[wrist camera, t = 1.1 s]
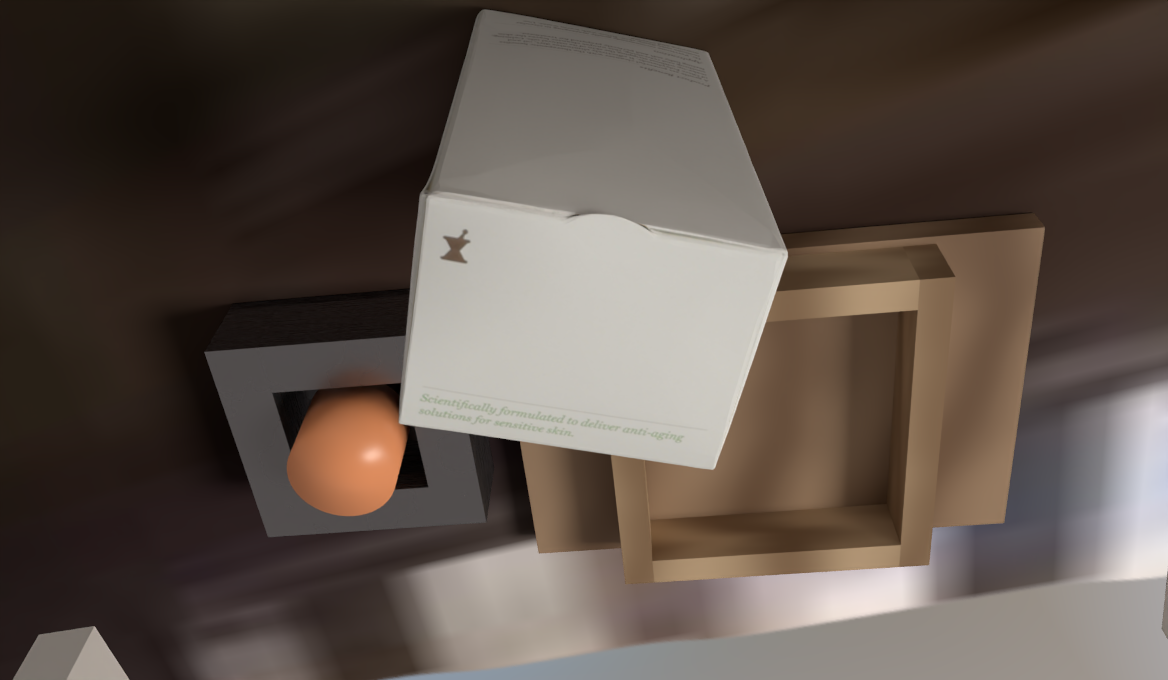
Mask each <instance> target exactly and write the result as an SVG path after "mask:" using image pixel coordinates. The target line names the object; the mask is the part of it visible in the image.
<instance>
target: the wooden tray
mask: <svg viewBox="0 0 1168 680" xmlns="http://www.w3.org/2000/svg"><path fill="white" fill-rule="evenodd" d="M1044 231H1045V227H1044V225H1043V224H1042V223H1041V222H1040V220H1039V219H1038V218H1037V217H1036V215H1035V214H1034V213H1027V214H1015V215H1003V216H991V217H979V218H968V219H956V220H944V221H932V222H920V223H909V224H897V225H885V226H873V227H861V228H850V229H838V230H826V231H814V232H803V233H791V234H780V235H781V237H782V240H783V242H784V244H785V247H786V249H787V251H788V258H787V261H786V264H785V266H784V269H783V272H782V275H781V278H780V281H779V284H778V287H777V290H776V293H775V296H774V299H773V302H772V305H771V308H770V311H769V314H768V317H767V320H766V323H765V326H764V329H763V332H762V335H761V338H760V341H759V344H758V347H757V350H756V353H755V356H754V359H753V362H752V365H751V367H750V370H749V373H748V376H747V379H746V382H745V385H744V388H743V391H742V393H741V396H740V399H739V402H738V405H737V408H736V411H735V414H734V417H733V420H732V422H731V425H730V428H729V431H728V434H727V436H726V439H725V442H724V444H723V447H722V450H721V453H720V455H719V458H718V461H717V464H716V467H715V468H714V469H713V470H710V469H701V468H694V467H688V466H682V465H675V464H669V463H662V462H655V461H649V460H642V459H636V458H629V457H622V456H616V455H609V454H603V453H596V452H589V451H582V450H576V449H569V448H562V447H556V446H549V445H543V444H536V443H529V442H523V441H520V445H521V451H522V457H523V463H524V468H525V474H526V480H527V486H528V492H529V498H530V504H531V510H532V516H533V522H534V528H535V534H536V540H537V545H538V551H539V553H553V552H568V551H583V550H598V549H614V548H622V557H623V566H624V575H625V584H637V583H653V582H669V581H684V580H700V579H716V578H732V577H748V576H763V575H779V574H795V573H811V572H827V571H842V570H858V569H874V568H890V567H906V566H921V565H929V560H930V549H931V539H932V528H933V527H949V526H964V525H979V524H994V523H1004V519H1005V512H1006V505H1007V497H1008V490H1009V483H1010V476H1011V469H1012V462H1013V454H1014V447H1015V440H1016V433H1017V426H1018V418H1019V411H1020V404H1021V397H1022V390H1023V382H1024V375H1025V368H1026V361H1027V354H1028V346H1029V339H1030V332H1031V325H1032V318H1033V310H1034V303H1035V296H1036V289H1037V282H1038V274H1039V267H1040V260H1041V253H1042V246H1043V239H1044Z"/></svg>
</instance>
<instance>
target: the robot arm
mask: <svg viewBox="0 0 1168 680" xmlns="http://www.w3.org/2000/svg"><path fill="white" fill-rule="evenodd" d="M1162 630H1163V632H1164V633H1165V635H1166V637H1167V638H1168V573H1167V583H1166V594H1165V603H1164V612H1163V622H1162ZM13 680H129V679H128V677H127V675H126V674H125V672H124V671H123V669H122V668H121V666H120V665H119V663H118V662H117V660H116V659H115V657H114V656H113V654H112V652H111V651H110V649H109V648H108V646H107V645H106V643H105V642H104V640H103V639H102V637H101V636H100V634H99V633H98V631H97V629H96V628H95V626H93V627H87V628H80V629H74V630H67V631H61V632H54V633H48V634H41V635H38V637H37V639H36V641H35V642H34V644H33V646H32V648H31V649H30V651H29V653H28V655H27V656H26V658H25V660H24V661H23V663H22V665H21V667H20V668H19V670H18V672H17V674H16V675H15V677H14V679H13Z"/></svg>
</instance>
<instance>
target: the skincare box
mask: <svg viewBox="0 0 1168 680" xmlns="http://www.w3.org/2000/svg"><path fill="white" fill-rule="evenodd" d="M787 258H788V251H787V249H786V247H785V244H784V242H783V240H782V237H781V235H780V232H779V230H778V227H777V224H776V222H775V219H774V217H773V215H772V212H771V210H770V207H769V205H768V202H767V200H766V197H765V195H764V192H763V190H762V187H761V185H760V182H759V180H758V177H757V175H756V172H755V170H754V167H753V165H752V162H751V160H750V157H749V155H748V152H747V149H746V147H745V144H744V142H743V139H742V137H741V135H740V132H739V129H738V126H737V124H736V122H735V119H734V117H733V114H732V111H731V109H730V106H729V104H728V101H727V99H726V96H725V94H724V91H723V89H722V86H721V83H720V81H719V78H718V76H717V73H716V71H715V68H714V66H713V63H712V61H711V58H710V56H709V54H708V52H706V51H702V50H698V49H693V48H688V47H683V46H678V45H673V44H668V43H663V42H658V41H653V40H648V39H642V38H637V37H632V36H627V35H622V34H617V33H612V32H607V31H602V30H596V29H591V28H586V27H581V26H576V25H571V24H565V23H560V22H555V21H550V20H544V19H539V18H534V17H528V16H523V15H517V14H512V13H505V12H499V11H493V10H486V9H484V10H481V12H480V13H479V14H478V15H477V18H476V21H475V24H474V28H473V31H472V35H471V39H470V43H469V46H468V50H467V54H466V57H465V60H464V64H463V67H462V70H461V74H460V77H459V81H458V84H457V88H456V91H455V95H454V98H453V102H452V105H451V109H450V112H449V116H448V119H447V122H446V126H445V129H444V133H443V136H442V140H441V143H440V147H439V150H438V154H437V157H436V161H435V164H434V167H433V170H432V172H431V175H430V177H429V180H428V182H427V184H426V186H425V187H424V189H423V190H422V191H421V193H420V197H419V208H418V217H417V226H416V234H415V243H414V253H413V263H412V273H411V284H410V295H409V306H408V317H407V327H406V337H405V347H404V358H403V369H402V379H401V390H400V404H399V423H400V424H404V425H411V426H417V427H425V428H432V429H440V430H447V431H454V432H461V433H468V434H475V435H482V436H489V437H496V438H502V439H509V440H516V441H523V442H529V443H536V444H543V445H549V446H556V447H562V448H569V449H576V450H582V451H589V452H596V453H603V454H609V455H616V456H622V457H629V458H636V459H642V460H649V461H655V462H662V463H669V464H675V465H682V466H688V467H694V468H701V469H710V470H713V469H714V468H715V467H716V464H717V461H718V458H719V455H720V453H721V450H722V447H723V444H724V442H725V439H726V436H727V434H728V431H729V428H730V425H731V422H732V420H733V417H734V414H735V411H736V408H737V405H738V402H739V399H740V396H741V393H742V391H743V388H744V385H745V382H746V379H747V376H748V373H749V370H750V367H751V365H752V362H753V359H754V356H755V353H756V350H757V347H758V344H759V341H760V338H761V335H762V332H763V329H764V326H765V323H766V320H767V317H768V314H769V311H770V308H771V305H772V302H773V299H774V296H775V293H776V290H777V287H778V284H779V281H780V278H781V275H782V272H783V269H784V266H785V264H786V261H787Z"/></svg>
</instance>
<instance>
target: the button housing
mask: <svg viewBox="0 0 1168 680" xmlns="http://www.w3.org/2000/svg"><path fill="white" fill-rule="evenodd" d="M409 295H410V289H404V290H392V291H380V292H368V293H356V294H344V295H332V296H320V297H308V298H296V299H284V300H272V301H260V302H248V303H236V304H232V306H231V308H230V309H229V311H228V313H227V314H226V316H225V318H224V319H223V321H222V323H221V324H220V326H219V328H218V330H217V331H216V333H215V335H214V336H213V338H212V340H211V341H210V343H209V345H208V346H207V348H206V350H205V352H204V353H205V356H206V359H207V361H208V364H209V367H210V370H211V373H212V376H213V379H214V382H215V385H216V387H217V390H218V393H219V396H220V399H221V402H222V405H223V408H224V411H225V413H226V416H227V419H228V422H229V425H230V428H231V431H232V434H233V437H234V439H235V442H236V445H237V448H238V451H239V454H240V457H241V460H242V463H243V465H244V468H245V471H246V474H247V477H248V480H249V483H250V486H251V489H252V491H253V494H254V497H255V500H256V503H257V506H258V509H259V512H260V515H261V517H262V520H263V523H264V526H265V529H266V532H267V535H268V537H277V536H292V535H307V534H322V533H336V532H351V531H366V530H380V529H395V528H410V527H425V526H439V525H454V524H469V523H484V522H487V515H488V508H489V500H490V493H491V486H492V479H493V471H494V464H493V459H492V454H491V448H490V443H489V438H488V436H482V435H475V434H468V433H461V432H454V431H447V430H440V429H432V428H425V427H417V426H410V432H409V435H408V439H407V443H406V447H405V451H404V455H403V459H402V463H401V467H400V470H399V474H398V478H397V482H396V486H395V489H394V492H393V494H392V496H391V497H390V499H389V500H388V501H387V502H386V503H385V504H384V505H383V506H381V507H380V508H378V509H377V510H375V511H373V512H370V513H367V514H363V515H358V516H339V515H333V514H329V513H326V512H323V511H321V510H318V509H316V508H314V507H313V506H311V505H309V504H308V503H307V502H305V501H304V500H303V499H302V498H301V497H300V496H299V495H298V494H297V493H296V492H295V490H294V489H293V487H292V486H291V484H290V481H289V479H288V475H287V461H288V457H289V455H290V452H291V450H292V447H293V445H294V442H295V440H296V437H297V435H298V432H299V430H300V427H301V425H302V422H303V420H304V417H305V415H306V413H307V410H308V408H309V405H310V403H311V400H312V398H313V396H314V395H315V393H316V392H317V391H318V390H319V389H329V388H342V387H355V386H368V385H381V384H385V385H387V386H389V387H390V388H392V389H393V390H394V391H395V392H396V393H398V394H399V396H400V390H401V379H402V369H403V358H404V347H405V337H406V327H407V317H408V306H409Z"/></svg>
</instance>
